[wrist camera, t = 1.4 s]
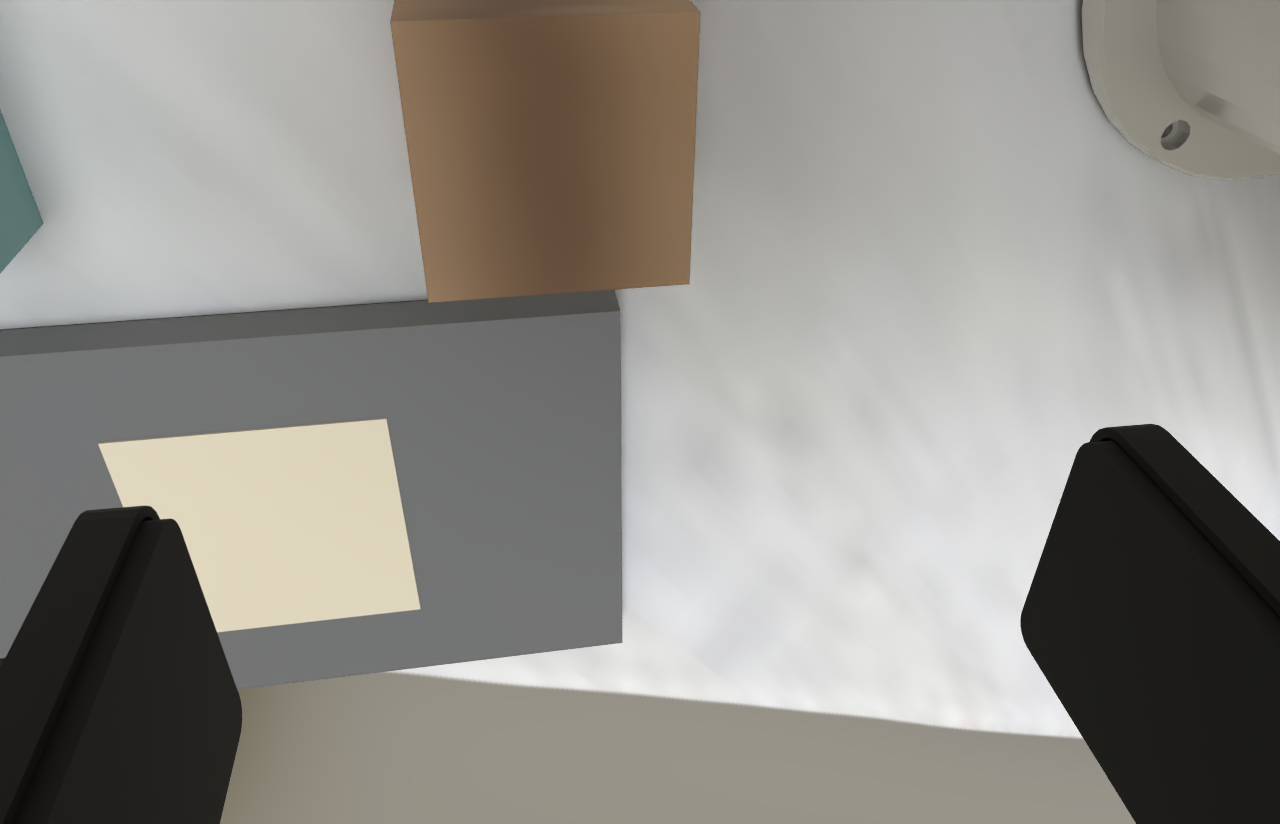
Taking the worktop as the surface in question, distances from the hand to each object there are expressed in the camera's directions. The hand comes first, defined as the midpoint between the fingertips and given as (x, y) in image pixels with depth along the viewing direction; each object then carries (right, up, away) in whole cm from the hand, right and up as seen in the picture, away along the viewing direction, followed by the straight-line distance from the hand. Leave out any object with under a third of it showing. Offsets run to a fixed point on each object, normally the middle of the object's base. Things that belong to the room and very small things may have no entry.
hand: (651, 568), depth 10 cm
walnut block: (-3, +10, +15) cm, 18 cm away
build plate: (-12, -1, +21) cm, 24 cm away
